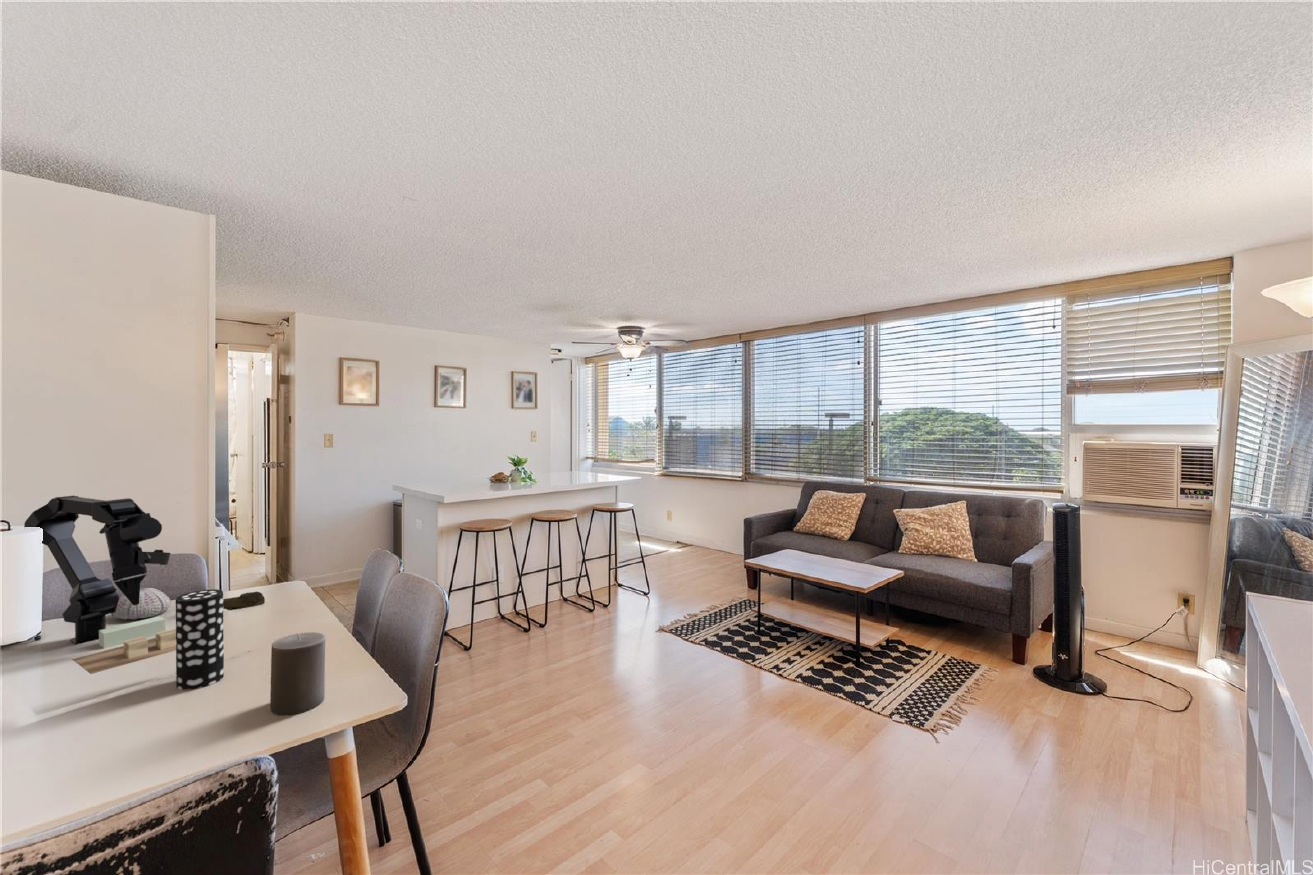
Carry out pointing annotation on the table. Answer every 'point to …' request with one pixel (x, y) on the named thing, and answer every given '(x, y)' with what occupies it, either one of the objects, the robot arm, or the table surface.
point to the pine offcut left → (135, 647)
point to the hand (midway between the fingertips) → (136, 604)
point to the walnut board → (117, 657)
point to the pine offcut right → (166, 639)
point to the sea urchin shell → (143, 605)
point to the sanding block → (130, 631)
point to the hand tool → (244, 600)
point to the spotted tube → (199, 639)
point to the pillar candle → (297, 673)
